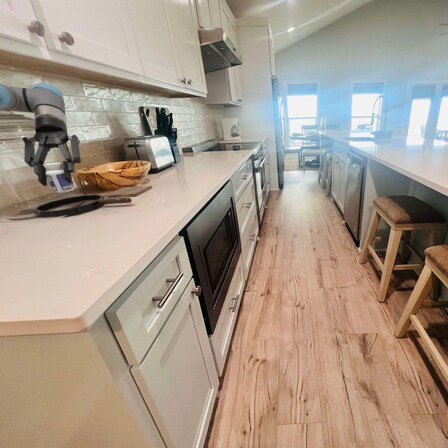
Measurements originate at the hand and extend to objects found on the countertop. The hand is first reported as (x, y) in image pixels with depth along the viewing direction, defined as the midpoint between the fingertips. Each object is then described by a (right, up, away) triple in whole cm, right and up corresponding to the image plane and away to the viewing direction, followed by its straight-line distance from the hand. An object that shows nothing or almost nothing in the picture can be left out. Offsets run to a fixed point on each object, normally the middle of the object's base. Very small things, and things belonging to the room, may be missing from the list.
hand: (55, 181), depth 74 cm
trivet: (+6, 0, +24) cm, 25 cm away
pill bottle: (-2, -2, +5) cm, 6 cm away
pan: (+4, -8, +7) cm, 12 cm away
